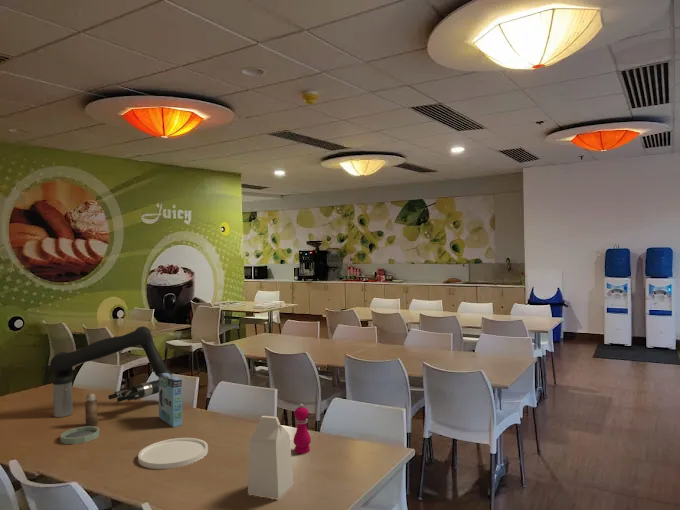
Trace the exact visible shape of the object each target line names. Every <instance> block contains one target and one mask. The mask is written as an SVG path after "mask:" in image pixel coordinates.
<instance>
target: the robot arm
mask: <svg viewBox="0 0 680 510" xmlns="http://www.w3.org/2000/svg"><path fill="white" fill-rule="evenodd" d="M137 346H141V348H142V349H143V351H144V353H145V355H146V357H147V359H148V362H149V366H151V367H150V368H151V369H152V372H153V373H154V375H155V376H156V377H158V378H159V375H158V374H163V373H168V374H171V375H173V376H174V374H173V373H172V372H171V371H170V370H169V369H168V367H167V365H166V363H165V361H164V360H163V357H162V356H161V354H160V352H159V350H158V349H157V347H156V345H155V342H154V340H153V336H152V332H151V330H150V329H149V328H148V327H147V326H139V327H136V328H135V330H134V331H131V332H129V333H126V334H124V335H120V336H113V337H107V338H104V339H103V338H102V339H100V340H97V341H94V342H92V343H89V344H87V345H85V346H84V347H81V348H79V349H77V350H76V349H75V350H74V351H70V352H66V351H61V352H57V353H56V354H55V355H54V356H53V357H52V358H51V360H50V363H49V365H50V368H51V369H52V371H53V372H52V373H53V374H52V381H51V382H52V384H51V385H52V410H53V411H52V412H53V415H52V416H53V418H63V417H64V418H65V417H68V416H71V415H73V413H74V411H73V410H74V405H73V403H74V402H73V401H74V400H73V367H75V366H78V365H80V364H83V363H87V362H92V361H94V360H98V359H102V358H104V357H105V358H106V357H108V356H111V355H113V354H115V353H119V352H120V351H121V352H122V351H123V350H126V349H128V348H133V347H137ZM155 394H159V379H157V380H153V381H149V382H143V383H138V384H135V385H132V386H131V387H130V389H122V390H118V391H114V393H112V394H109V395H108V396H107V397H108V400H113V399H116V401H117V402H118V403H119V402H124V401H128V402H129V401H132V400H134V401H137V400H139V399H143V398H146V397H149V396H152V395H155Z"/></svg>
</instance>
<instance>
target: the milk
mask: <svg viewBox="0 0 680 510" xmlns="http://www.w3.org/2000/svg"><path fill="white" fill-rule="evenodd" d="M253 431H254V432H253V433H252V435H251V437H250V439H249V443H248V444H249V445H248V479H247V481H248V482H247V484H248V485H247V486H248V487H247V495H248V494H253V495H260V496H266V497H273V498H278V499H279V498H280V497H281V496H282V495H283V494H284V493H285V492H286V491H287V490H288V489H289V488H290V487H291V486H292V485H293V484H294V472H293V463H292V462H293V461H292V451H291V449H292V448H291V438H290V433H289V432H288V431H287V430H286V428H284V426H282V425H281V423H280V420H279V418H278V416H271V415H270V416H268V415H262V416H260V418H259V420H258V424H257V426H256V428H255V429H254V430H253ZM292 487H293V486H292ZM292 487H291V488H292ZM291 488H290V489H291ZM290 489H289V490H290ZM289 490H288V491H289ZM288 491H287V492H288ZM287 492H286V493H287ZM286 493H285V494H286ZM285 494H284V495H285ZM284 495H283V496H284ZM283 496H282V497H283ZM282 497H281V498H282ZM281 498H280V499H281ZM280 499H279V500H280Z"/></svg>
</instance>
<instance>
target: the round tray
mask: <svg viewBox="0 0 680 510" xmlns="http://www.w3.org/2000/svg"><path fill="white" fill-rule="evenodd" d="M99 437H100V427H97V426H86V425H85V426H79V427H74V428H72V429H67V430H66V431H63V432H61V434H60V438H59V439H60V443H61V444H64V445H77V444H83V443H87V442H91V441H94V440H95V439H98V438H99Z"/></svg>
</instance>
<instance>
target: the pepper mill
mask: <svg viewBox="0 0 680 510" xmlns="http://www.w3.org/2000/svg"><path fill="white" fill-rule="evenodd" d="M309 412H310V411H309V410H308V408H306V406H304V404H303V403H300V404H299V405H298V407H297V408H296V409H295V410H294V417H295V423H296V431H295V433H294V438H293V444H294V445H295V447H294V451H295V453H296V454H301V455H302V454H303V453H304V454H307V452H308V453H309V452H310V451H311V449H310V448H311V447H310V443H311V442H312V440H311V438H312V437H311V435H310V433H309V431H308V426H307V423H308V422H309V421H308V417H309ZM304 454H303V455H304Z"/></svg>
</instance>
